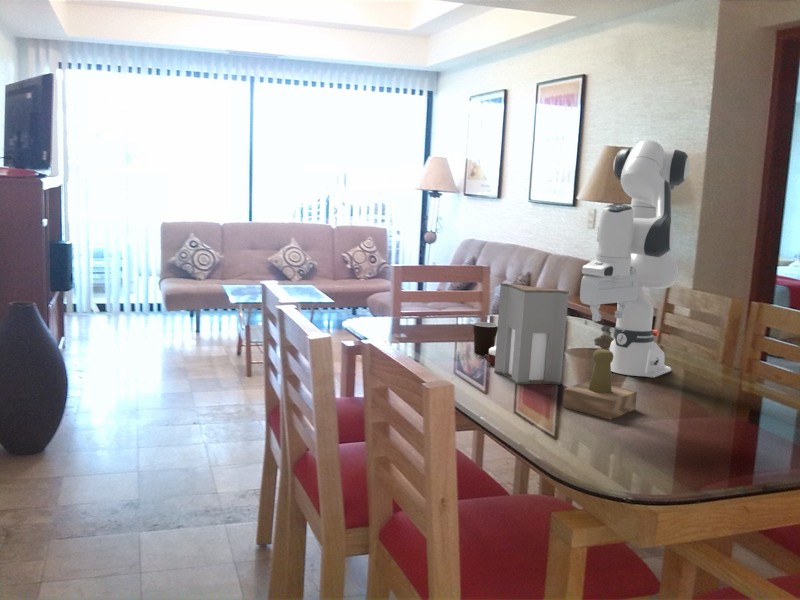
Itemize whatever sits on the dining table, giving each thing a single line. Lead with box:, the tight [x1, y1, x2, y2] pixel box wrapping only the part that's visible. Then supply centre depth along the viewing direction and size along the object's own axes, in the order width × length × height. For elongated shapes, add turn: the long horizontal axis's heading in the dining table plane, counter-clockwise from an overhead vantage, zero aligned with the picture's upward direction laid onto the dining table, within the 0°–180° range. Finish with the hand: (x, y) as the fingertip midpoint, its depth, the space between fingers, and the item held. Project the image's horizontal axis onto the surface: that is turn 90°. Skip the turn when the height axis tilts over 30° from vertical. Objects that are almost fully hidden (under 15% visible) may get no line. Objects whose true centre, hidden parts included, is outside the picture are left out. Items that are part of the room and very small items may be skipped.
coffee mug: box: [472, 321, 498, 356], centre depth 264 cm, size 12×9×10 cm
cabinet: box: [493, 282, 570, 386], centre depth 227 cm, size 21×10×28 cm, turn 59°
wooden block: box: [562, 379, 638, 421], centre depth 204 cm, size 14×14×5 cm
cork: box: [589, 348, 613, 393], centre depth 202 cm, size 6×6×11 cm
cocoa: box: [485, 345, 496, 366], centre depth 247 cm, size 10×6×12 cm, turn 96°
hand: (607, 319), depth 200 cm, fingers open, 8 cm apart
